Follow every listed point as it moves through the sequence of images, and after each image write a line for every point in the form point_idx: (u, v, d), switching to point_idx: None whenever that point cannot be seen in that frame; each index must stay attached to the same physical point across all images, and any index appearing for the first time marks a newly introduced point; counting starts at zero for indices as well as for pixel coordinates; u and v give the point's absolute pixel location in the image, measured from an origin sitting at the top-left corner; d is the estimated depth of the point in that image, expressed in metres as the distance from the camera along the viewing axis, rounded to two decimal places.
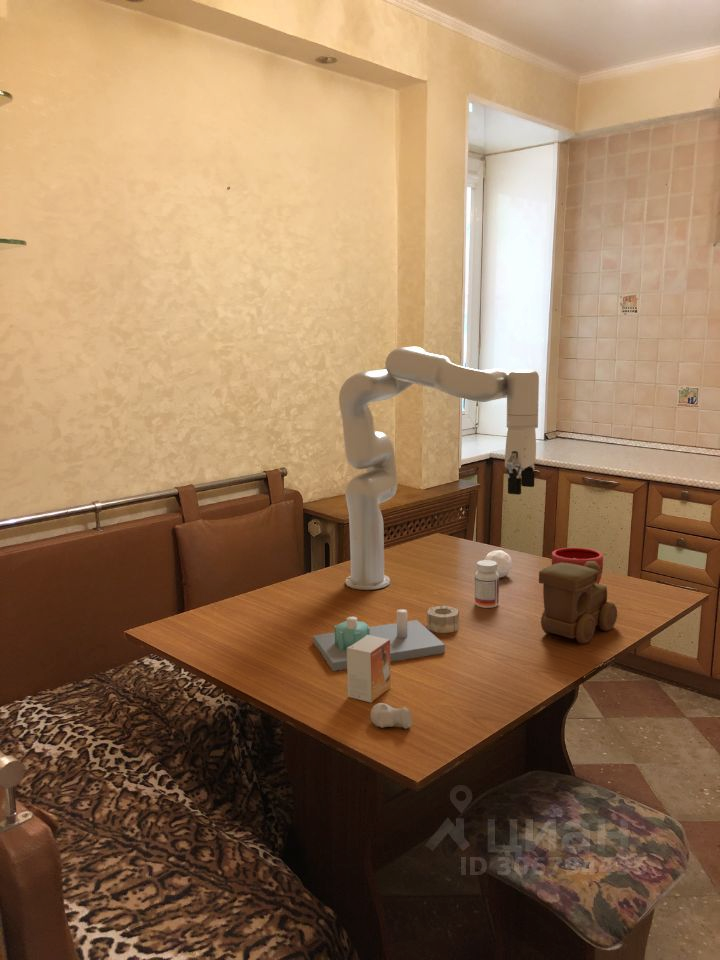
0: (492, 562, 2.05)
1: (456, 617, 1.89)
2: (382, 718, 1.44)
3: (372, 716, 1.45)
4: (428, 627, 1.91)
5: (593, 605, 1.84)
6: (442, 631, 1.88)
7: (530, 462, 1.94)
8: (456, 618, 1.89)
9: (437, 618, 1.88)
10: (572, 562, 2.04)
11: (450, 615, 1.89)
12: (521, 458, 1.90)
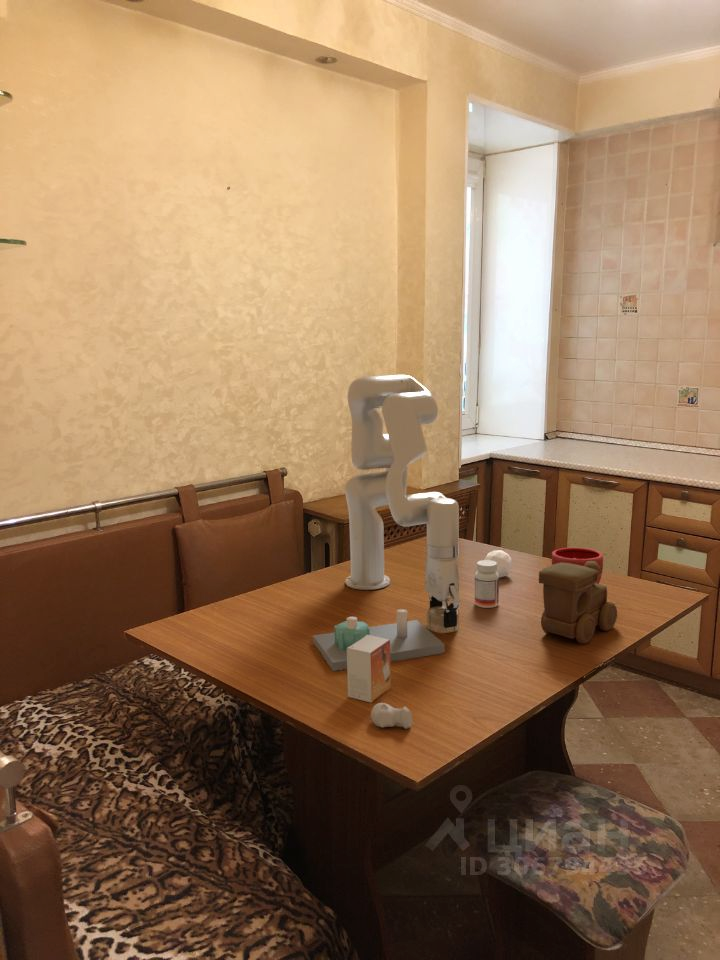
0: (492, 562, 2.05)
1: None
2: (383, 718, 1.44)
3: (372, 716, 1.45)
4: (428, 627, 1.91)
5: (593, 606, 1.84)
6: (442, 631, 1.88)
7: None
8: None
9: (437, 618, 1.88)
10: (572, 562, 2.04)
11: None
12: (458, 588, 1.86)
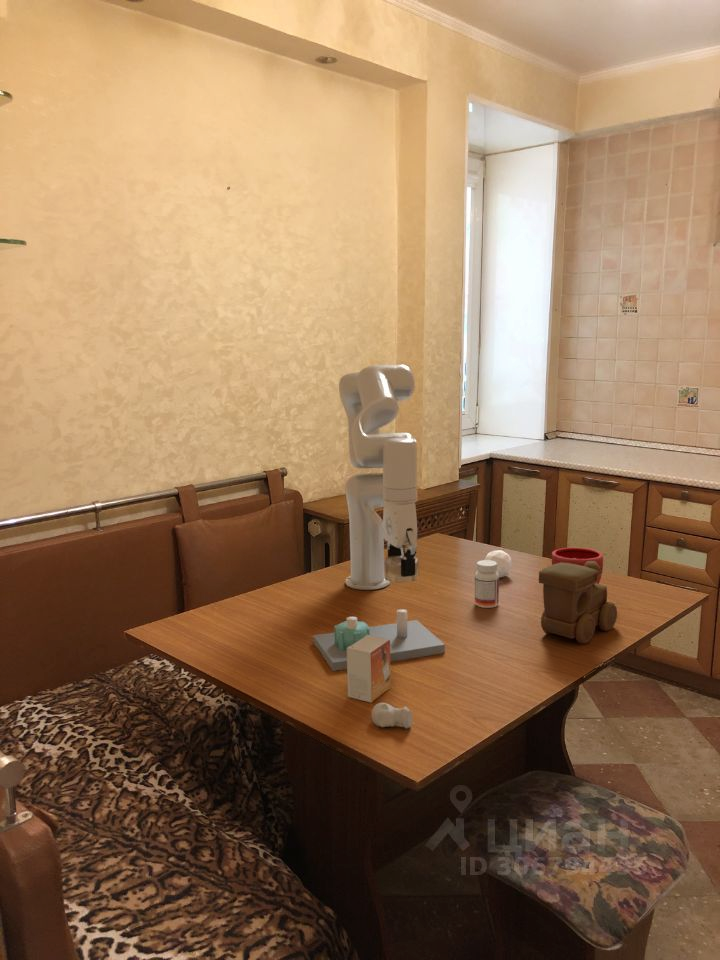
0: (492, 562, 2.05)
1: (415, 566, 1.76)
2: (383, 718, 1.44)
3: (373, 716, 1.45)
4: (385, 577, 1.78)
5: (593, 606, 1.84)
6: (400, 580, 1.76)
7: None
8: (415, 567, 1.76)
9: (394, 566, 1.75)
10: (572, 562, 2.04)
11: None
12: (416, 534, 1.73)
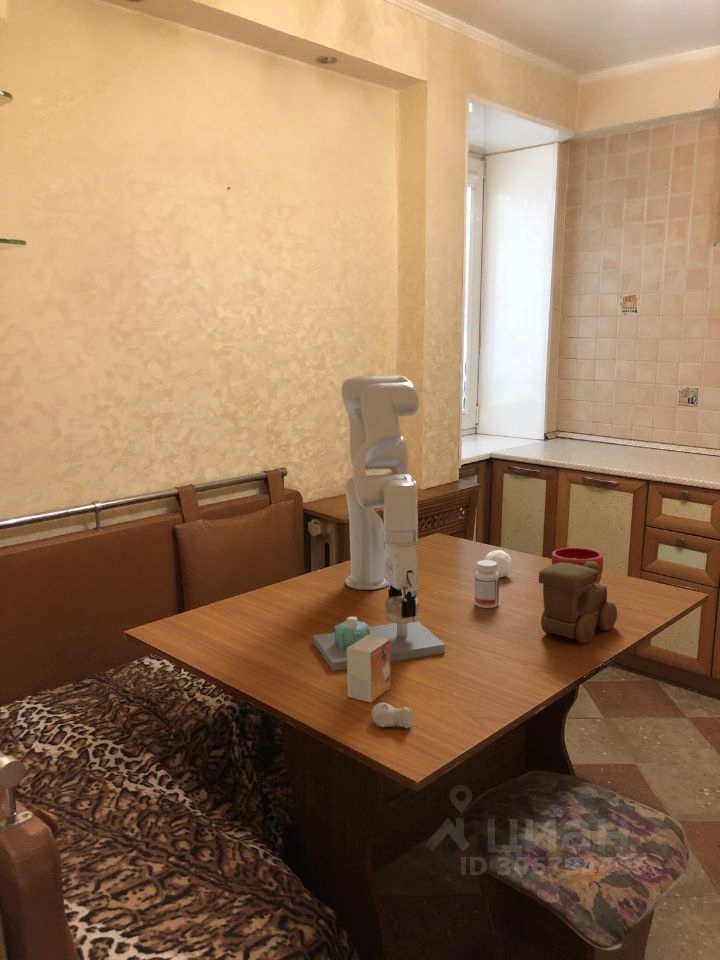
0: (492, 562, 2.05)
1: None
2: (383, 718, 1.44)
3: (373, 716, 1.45)
4: (386, 618, 1.80)
5: (593, 606, 1.84)
6: (400, 622, 1.77)
7: None
8: None
9: (395, 608, 1.77)
10: (572, 562, 2.04)
11: None
12: (416, 576, 1.75)
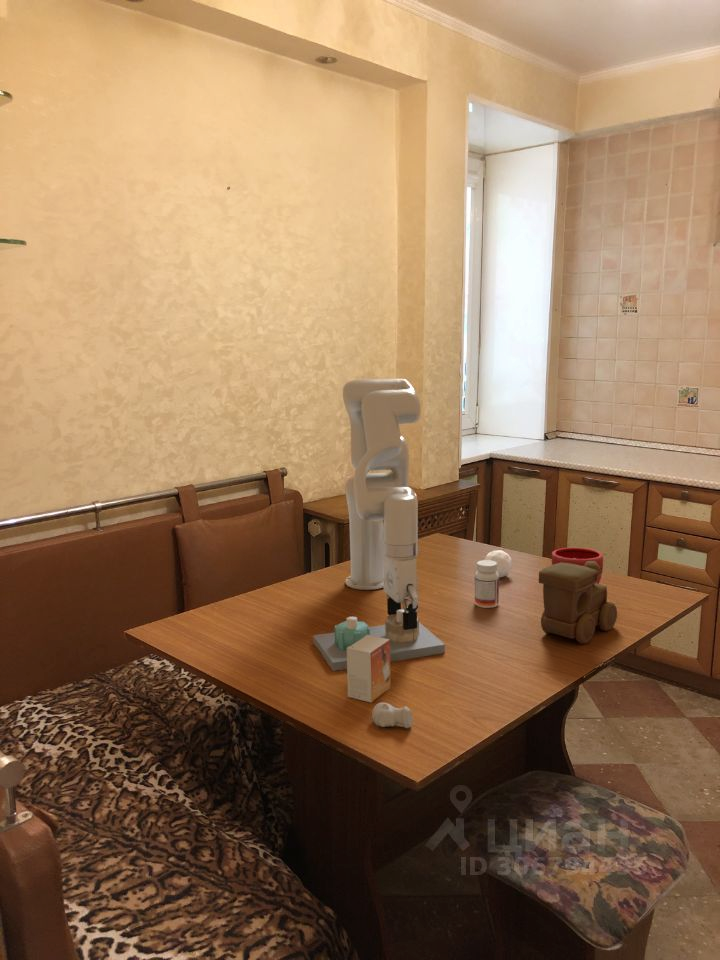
0: (492, 562, 2.05)
1: None
2: (384, 717, 1.44)
3: (373, 715, 1.46)
4: (386, 636, 1.81)
5: (593, 606, 1.84)
6: (400, 640, 1.78)
7: None
8: None
9: (395, 627, 1.78)
10: (572, 562, 2.04)
11: None
12: (416, 589, 1.76)
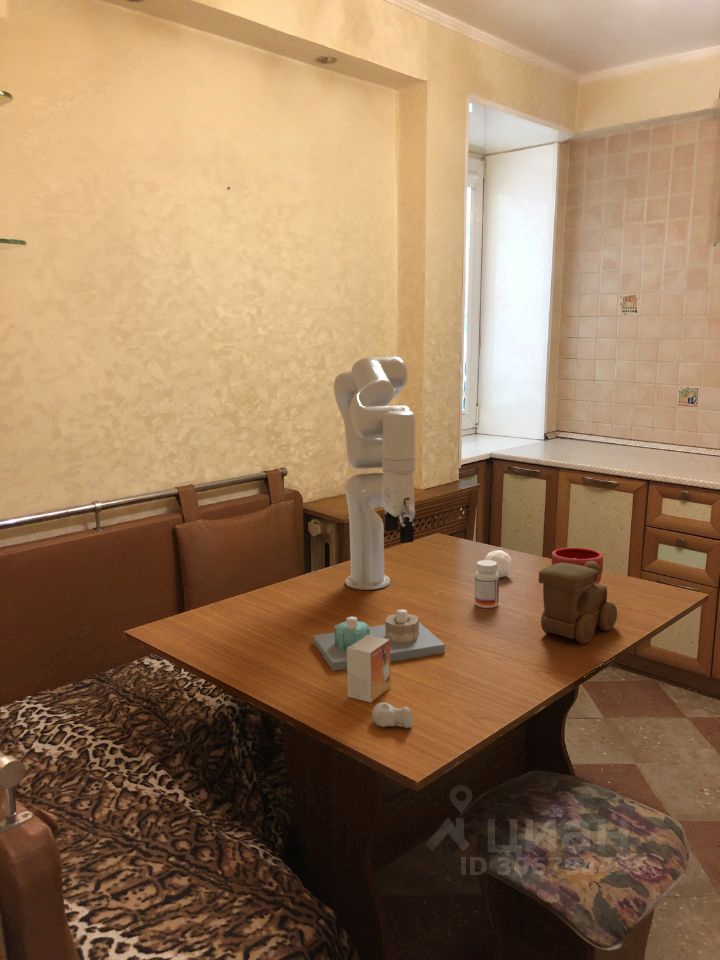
0: (492, 562, 2.05)
1: (415, 625, 1.79)
2: (384, 717, 1.44)
3: (373, 715, 1.46)
4: (386, 636, 1.81)
5: (593, 606, 1.84)
6: (400, 640, 1.78)
7: None
8: (415, 626, 1.79)
9: (395, 627, 1.78)
10: (572, 562, 2.04)
11: (409, 623, 1.79)
12: (413, 504, 1.80)
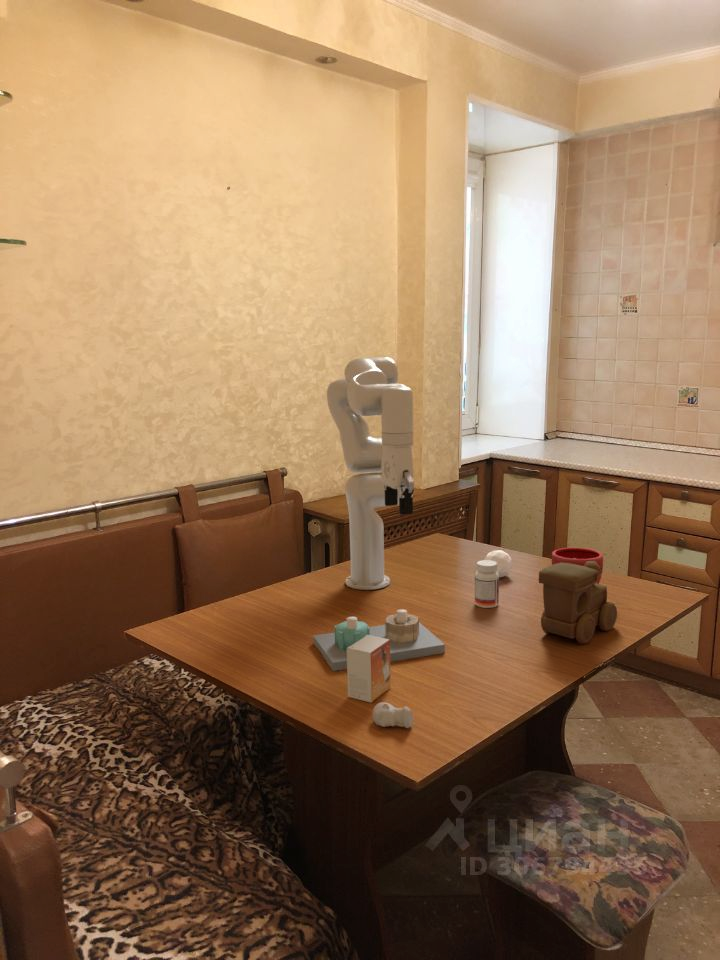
0: (492, 562, 2.05)
1: (415, 625, 1.79)
2: (384, 717, 1.44)
3: (374, 715, 1.46)
4: (386, 636, 1.81)
5: (593, 606, 1.84)
6: (400, 640, 1.78)
7: None
8: (415, 626, 1.79)
9: (395, 627, 1.78)
10: (572, 562, 2.04)
11: (409, 623, 1.79)
12: (412, 476, 1.86)
